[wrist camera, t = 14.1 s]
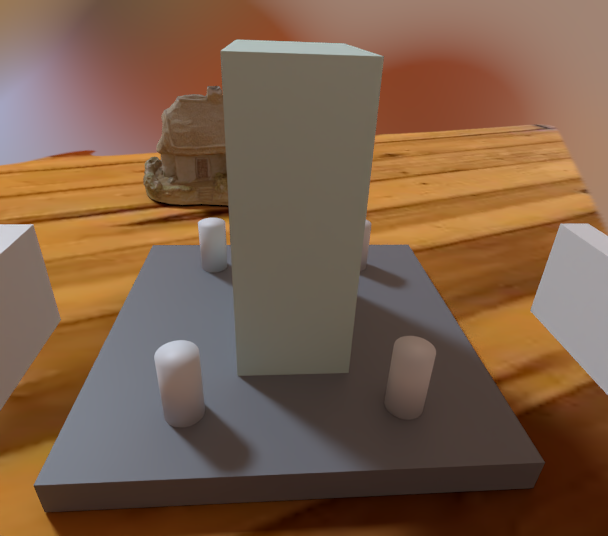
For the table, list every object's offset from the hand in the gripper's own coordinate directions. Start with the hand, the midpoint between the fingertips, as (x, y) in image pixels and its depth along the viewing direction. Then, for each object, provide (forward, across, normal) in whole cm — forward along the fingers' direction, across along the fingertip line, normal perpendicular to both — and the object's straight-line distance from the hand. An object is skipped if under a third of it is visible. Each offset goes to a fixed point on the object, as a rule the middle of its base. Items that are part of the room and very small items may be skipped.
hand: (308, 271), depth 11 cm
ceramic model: (+34, -6, -10) cm, 36 cm away
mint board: (+9, 0, -8) cm, 12 cm away
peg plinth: (+9, 0, -10) cm, 13 cm away
